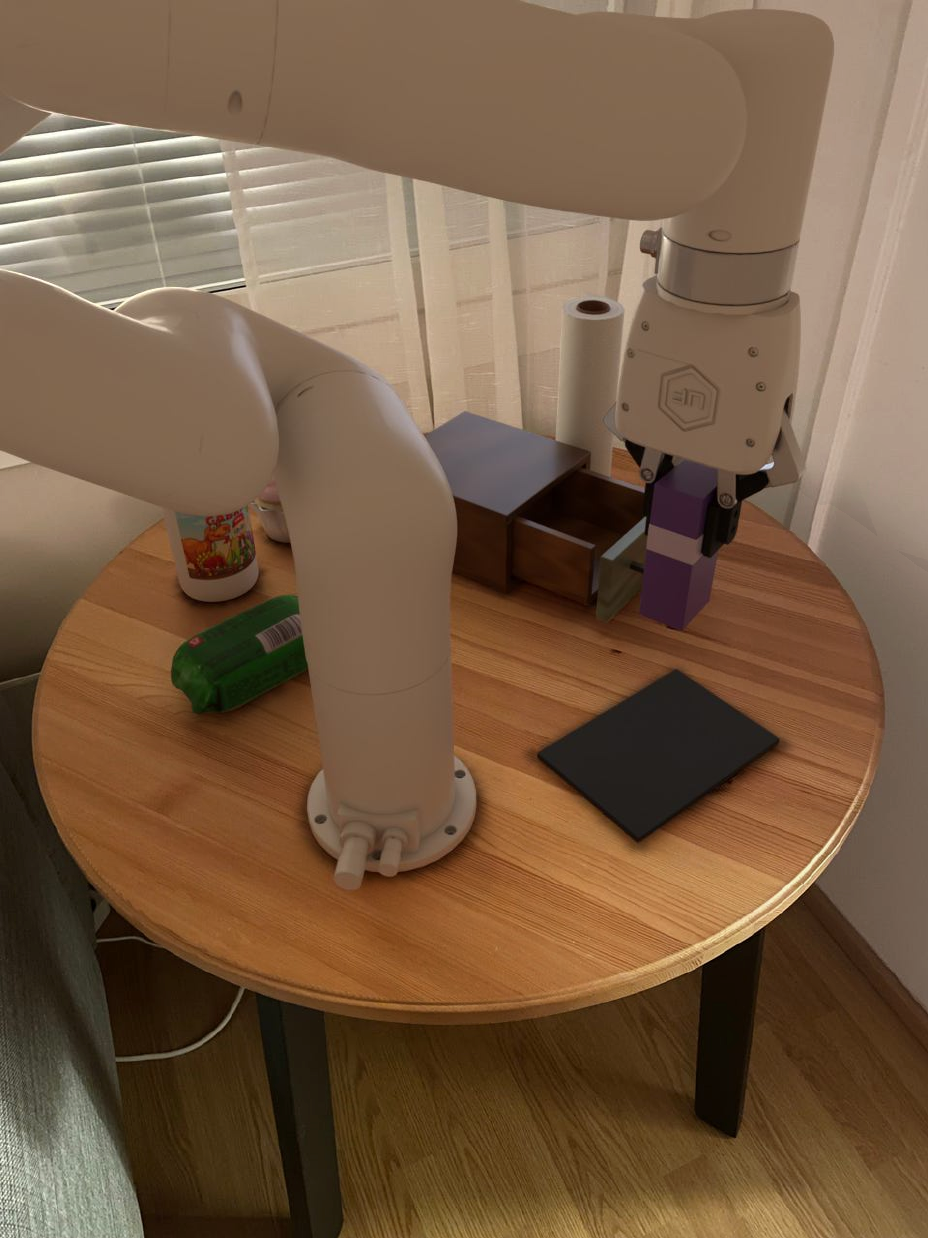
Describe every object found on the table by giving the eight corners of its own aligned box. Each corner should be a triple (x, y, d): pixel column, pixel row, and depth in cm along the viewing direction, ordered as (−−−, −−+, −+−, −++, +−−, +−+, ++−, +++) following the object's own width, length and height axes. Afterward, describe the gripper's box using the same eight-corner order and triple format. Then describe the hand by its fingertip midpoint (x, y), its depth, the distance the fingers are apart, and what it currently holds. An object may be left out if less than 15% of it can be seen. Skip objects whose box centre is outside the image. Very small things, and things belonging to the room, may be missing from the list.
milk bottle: (166, 598, 97) (119, 408, 84) (201, 554, 102) (162, 370, 90) (240, 609, 95) (204, 416, 83) (271, 564, 101) (242, 377, 89)
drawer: (718, 569, 97) (728, 509, 93) (650, 641, 89) (659, 578, 85) (552, 509, 107) (555, 451, 102) (476, 569, 98) (476, 509, 94)
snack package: (359, 654, 90) (355, 607, 87) (205, 736, 82) (193, 688, 78) (314, 618, 94) (308, 572, 91) (163, 693, 86) (150, 646, 83)
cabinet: (586, 525, 106) (591, 451, 100) (505, 594, 96) (506, 515, 91) (466, 481, 113) (464, 410, 108) (380, 541, 104) (374, 466, 99)
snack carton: (666, 584, 74) (685, 456, 67) (710, 601, 72) (733, 471, 66) (637, 614, 71) (653, 483, 64) (682, 632, 69) (703, 499, 63)
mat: (638, 843, 72) (638, 838, 72) (536, 757, 79) (537, 752, 79) (779, 744, 80) (780, 738, 80) (675, 673, 87) (676, 668, 87)
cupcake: (244, 554, 102) (229, 468, 96) (256, 506, 110) (242, 423, 104) (336, 552, 102) (326, 465, 96) (342, 503, 110) (333, 420, 104)
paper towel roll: (595, 515, 107) (610, 321, 94) (543, 502, 110) (551, 310, 96) (620, 485, 112) (638, 296, 99) (571, 472, 114) (582, 286, 101)
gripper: (565, 257, 58) (553, 524, 70) (846, 317, 51) (781, 607, 62) (628, 224, 63) (607, 479, 74) (894, 274, 55) (825, 551, 67)
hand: (687, 535), depth 68 cm, fingers closed on snack carton, 3 cm apart
